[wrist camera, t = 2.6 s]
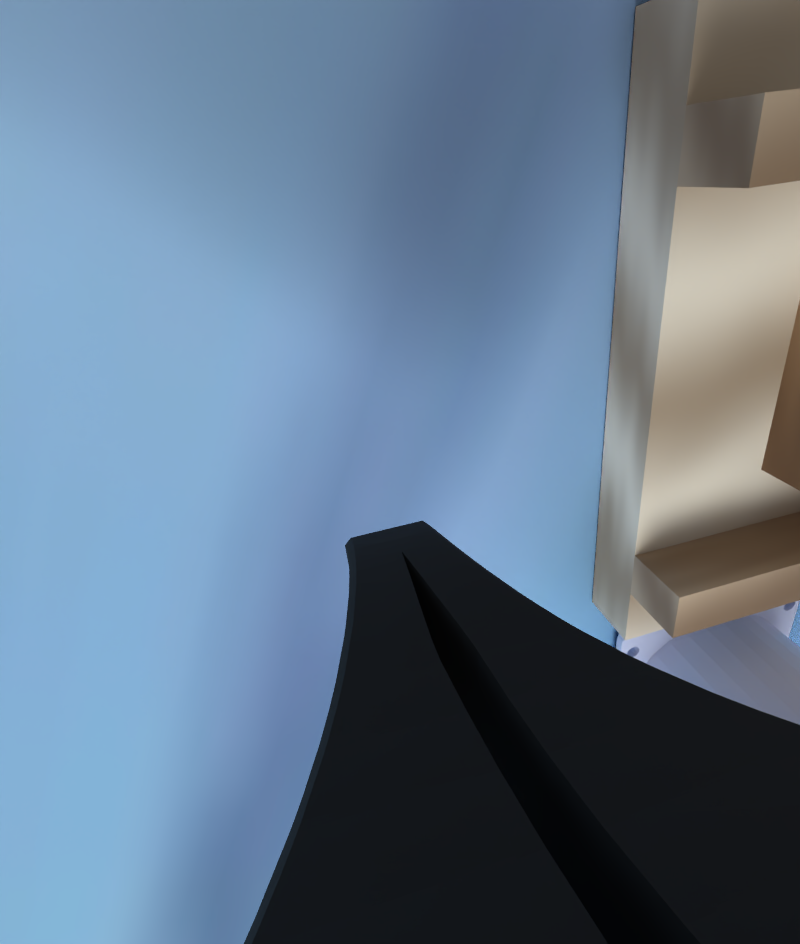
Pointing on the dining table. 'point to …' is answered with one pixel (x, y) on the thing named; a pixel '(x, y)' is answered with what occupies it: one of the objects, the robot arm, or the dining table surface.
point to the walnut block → (787, 419)
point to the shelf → (702, 321)
